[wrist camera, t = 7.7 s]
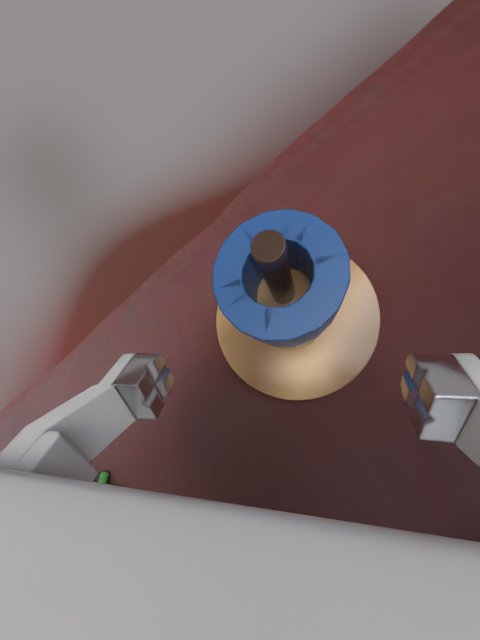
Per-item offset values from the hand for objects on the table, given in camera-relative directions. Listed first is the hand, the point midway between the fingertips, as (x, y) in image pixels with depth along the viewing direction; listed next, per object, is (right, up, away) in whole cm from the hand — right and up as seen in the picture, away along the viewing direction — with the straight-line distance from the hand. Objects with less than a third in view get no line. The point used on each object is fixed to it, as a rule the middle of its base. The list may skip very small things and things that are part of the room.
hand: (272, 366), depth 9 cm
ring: (+1, +3, +5) cm, 6 cm away
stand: (+3, +2, +13) cm, 13 cm away
